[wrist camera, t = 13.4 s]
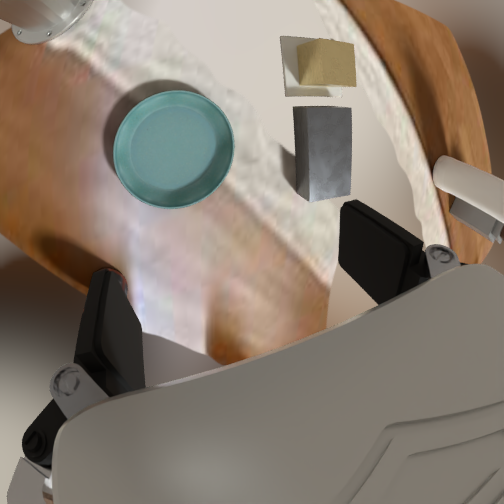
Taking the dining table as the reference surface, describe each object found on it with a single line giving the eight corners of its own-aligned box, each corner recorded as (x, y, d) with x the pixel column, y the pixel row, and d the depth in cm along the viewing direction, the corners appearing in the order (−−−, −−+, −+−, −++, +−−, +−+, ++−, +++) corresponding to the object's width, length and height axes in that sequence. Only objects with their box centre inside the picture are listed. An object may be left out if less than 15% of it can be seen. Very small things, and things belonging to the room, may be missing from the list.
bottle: (428, 183, 48) (542, 251, 24) (437, 150, 45) (556, 207, 20) (444, 190, 51) (545, 252, 27) (453, 160, 48) (557, 214, 23)
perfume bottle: (466, 198, 56) (516, 228, 41) (457, 219, 59) (505, 251, 44) (459, 189, 53) (513, 219, 38) (449, 212, 56) (502, 245, 41)
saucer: (247, 167, 36) (253, 171, 34) (154, 222, 36) (154, 230, 34) (199, 71, 28) (202, 68, 26) (96, 133, 27) (91, 135, 25)
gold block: (296, 45, 28) (319, 38, 23) (327, 49, 29) (353, 44, 24) (299, 85, 31) (323, 83, 26) (330, 86, 32) (356, 86, 27)
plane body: (292, 106, 33) (306, 107, 30) (334, 106, 35) (351, 107, 31) (296, 193, 40) (309, 202, 37) (335, 186, 42) (350, 194, 38)
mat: (279, 36, 27) (281, 35, 27) (335, 42, 29) (338, 41, 29) (285, 96, 32) (287, 96, 32) (340, 96, 34) (342, 97, 34)
